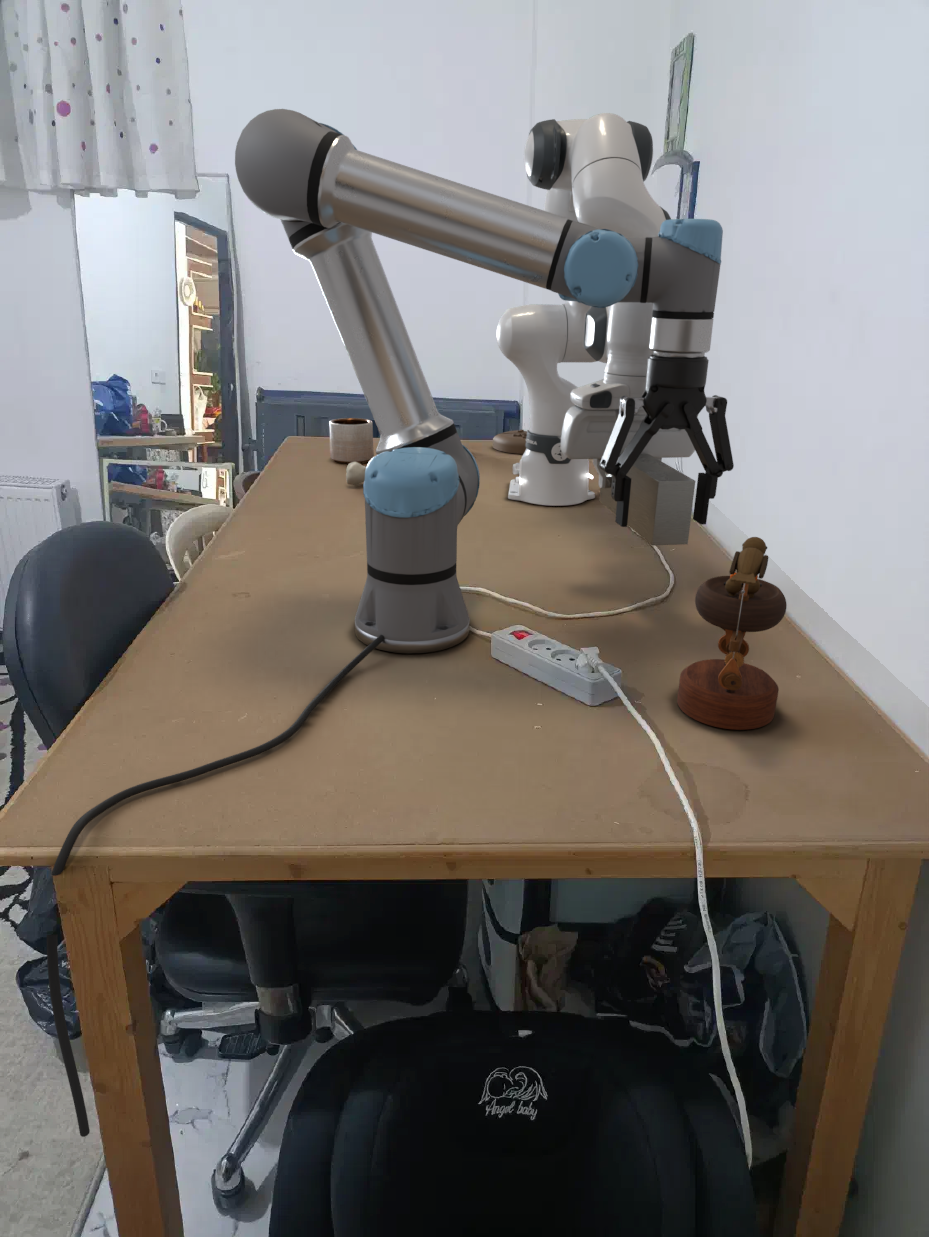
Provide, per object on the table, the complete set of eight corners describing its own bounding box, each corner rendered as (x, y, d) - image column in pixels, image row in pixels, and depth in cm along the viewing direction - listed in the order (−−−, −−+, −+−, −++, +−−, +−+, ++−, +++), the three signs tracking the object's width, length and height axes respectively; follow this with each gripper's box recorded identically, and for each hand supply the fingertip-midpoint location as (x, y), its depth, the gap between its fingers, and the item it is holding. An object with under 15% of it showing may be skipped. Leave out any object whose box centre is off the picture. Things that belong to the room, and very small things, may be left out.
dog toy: (433, 479, 195) (433, 458, 193) (437, 486, 189) (437, 463, 187) (345, 481, 191) (344, 459, 190) (346, 488, 186) (345, 465, 184)
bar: (687, 544, 113) (695, 480, 109) (651, 545, 112) (658, 481, 109) (629, 500, 134) (634, 446, 130) (599, 501, 133) (603, 446, 130)
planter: (327, 456, 217) (325, 418, 214) (369, 454, 220) (368, 417, 217) (334, 465, 208) (332, 425, 204) (377, 463, 211) (376, 424, 207)
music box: (793, 740, 87) (809, 557, 80) (685, 741, 89) (691, 560, 81) (762, 676, 102) (773, 514, 94) (668, 677, 103) (672, 518, 95)
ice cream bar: (498, 463, 213) (499, 446, 211) (490, 442, 239) (491, 427, 237) (581, 463, 214) (582, 447, 212) (564, 443, 240) (565, 428, 238)
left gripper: (749, 351, 112) (727, 513, 120) (582, 351, 109) (571, 517, 117) (778, 357, 105) (752, 528, 114) (600, 356, 102) (587, 533, 110)
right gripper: (691, 390, 128) (681, 480, 133) (560, 391, 124) (555, 483, 130) (709, 396, 122) (697, 490, 127) (572, 397, 119) (566, 493, 124)
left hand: (660, 522), depth 115 cm, fingers open, 10 cm apart
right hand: (624, 486), depth 128 cm, fingers closed on bar, 5 cm apart
